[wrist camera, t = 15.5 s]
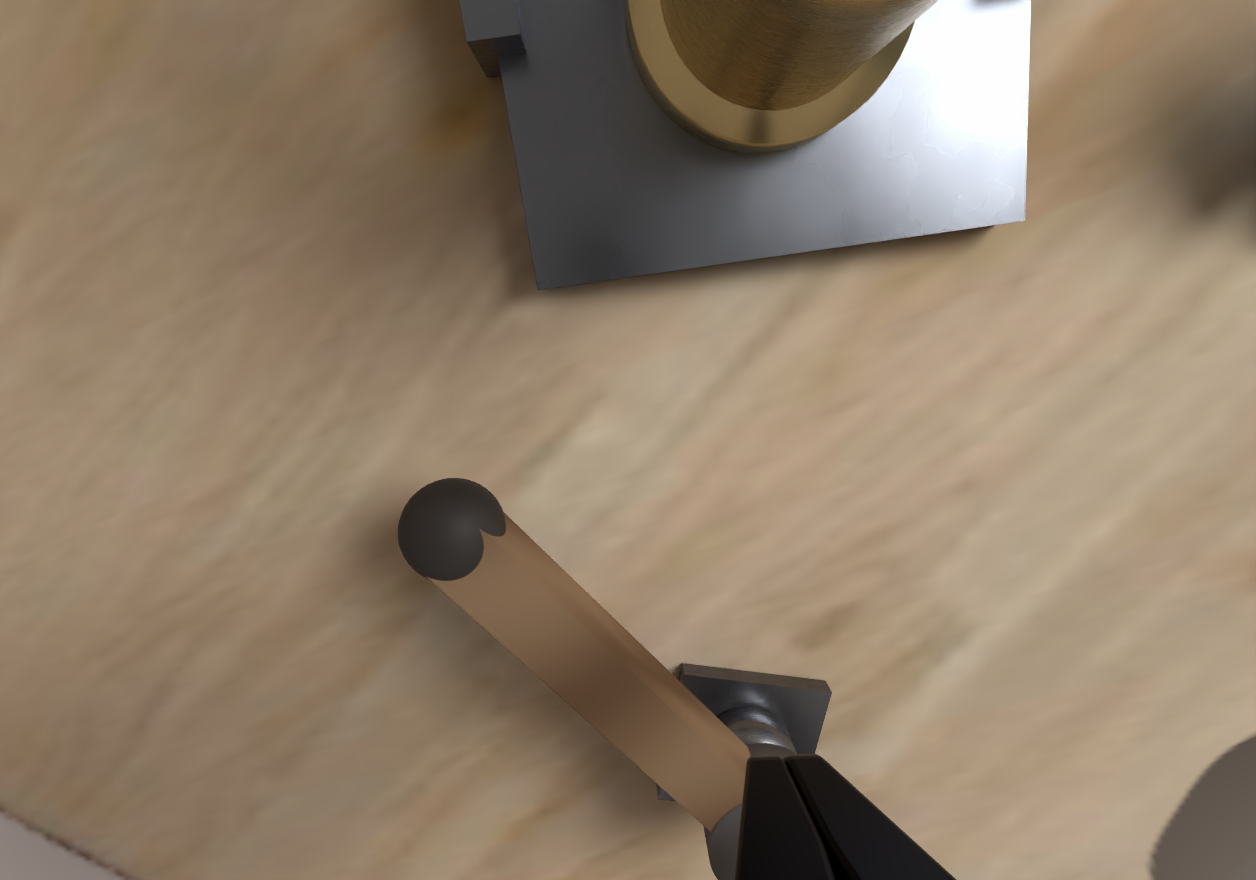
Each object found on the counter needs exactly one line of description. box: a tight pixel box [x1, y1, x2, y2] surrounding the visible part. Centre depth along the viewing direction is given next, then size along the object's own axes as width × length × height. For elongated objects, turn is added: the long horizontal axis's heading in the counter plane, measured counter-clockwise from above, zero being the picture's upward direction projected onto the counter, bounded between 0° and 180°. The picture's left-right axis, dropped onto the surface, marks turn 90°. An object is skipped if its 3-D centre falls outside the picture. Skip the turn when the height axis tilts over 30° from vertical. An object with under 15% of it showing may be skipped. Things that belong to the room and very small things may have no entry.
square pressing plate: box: [657, 663, 832, 801], centre depth 20 cm, size 5×5×2 cm
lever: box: [398, 478, 796, 880], centre depth 17 cm, size 16×4×3 cm, turn 42°
